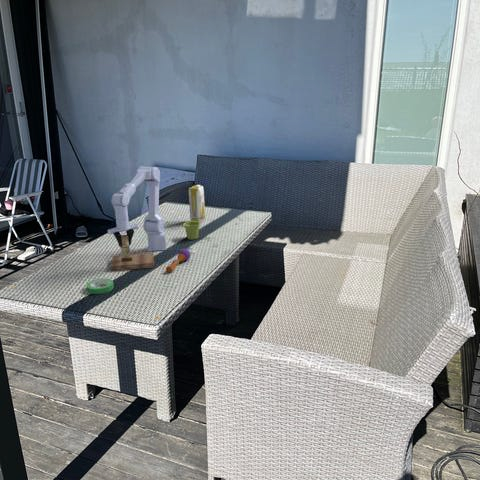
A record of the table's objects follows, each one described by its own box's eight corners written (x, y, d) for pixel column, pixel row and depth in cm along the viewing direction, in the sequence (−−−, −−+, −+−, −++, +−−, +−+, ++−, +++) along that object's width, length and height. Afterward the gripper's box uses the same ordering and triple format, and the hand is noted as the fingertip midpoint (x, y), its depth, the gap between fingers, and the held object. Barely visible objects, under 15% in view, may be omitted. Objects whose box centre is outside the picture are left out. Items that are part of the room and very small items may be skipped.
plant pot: (181, 239, 259) (180, 225, 256) (189, 234, 267) (188, 220, 264) (196, 241, 255) (195, 226, 252) (203, 236, 263) (202, 222, 261)
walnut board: (153, 257, 233) (153, 252, 232) (153, 267, 220) (153, 262, 219) (113, 260, 230) (112, 255, 229) (111, 271, 217) (110, 266, 216)
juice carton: (201, 224, 285) (199, 186, 278) (189, 223, 288) (187, 186, 280) (206, 220, 294) (204, 183, 286) (194, 219, 296) (192, 183, 288)
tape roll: (88, 296, 192) (88, 290, 191) (85, 286, 201) (85, 280, 200) (115, 291, 196) (115, 285, 195) (111, 282, 205) (111, 276, 205)
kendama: (161, 264, 213) (180, 247, 231) (165, 275, 215) (183, 258, 233) (172, 263, 211) (190, 246, 229) (176, 275, 213) (193, 257, 231)
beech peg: (128, 249, 225) (126, 234, 222) (131, 252, 222) (129, 236, 219) (120, 251, 223) (118, 235, 220) (123, 253, 220) (121, 238, 217)
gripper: (133, 214, 224) (135, 240, 228) (104, 219, 216) (107, 246, 220) (139, 217, 218) (141, 244, 223) (109, 222, 210) (112, 250, 215)
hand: (125, 245), depth 221 cm, fingers closed on beech peg, 4 cm apart
